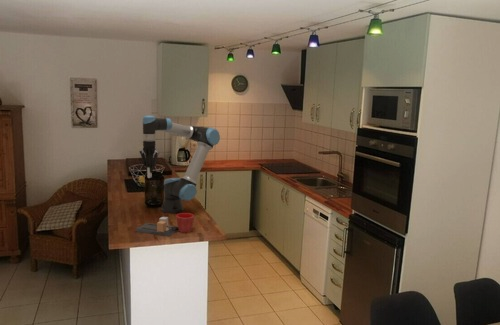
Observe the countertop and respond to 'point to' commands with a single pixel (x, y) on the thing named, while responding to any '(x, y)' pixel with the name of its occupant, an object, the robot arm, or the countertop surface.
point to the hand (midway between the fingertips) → (149, 177)
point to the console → (153, 229)
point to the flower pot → (185, 222)
